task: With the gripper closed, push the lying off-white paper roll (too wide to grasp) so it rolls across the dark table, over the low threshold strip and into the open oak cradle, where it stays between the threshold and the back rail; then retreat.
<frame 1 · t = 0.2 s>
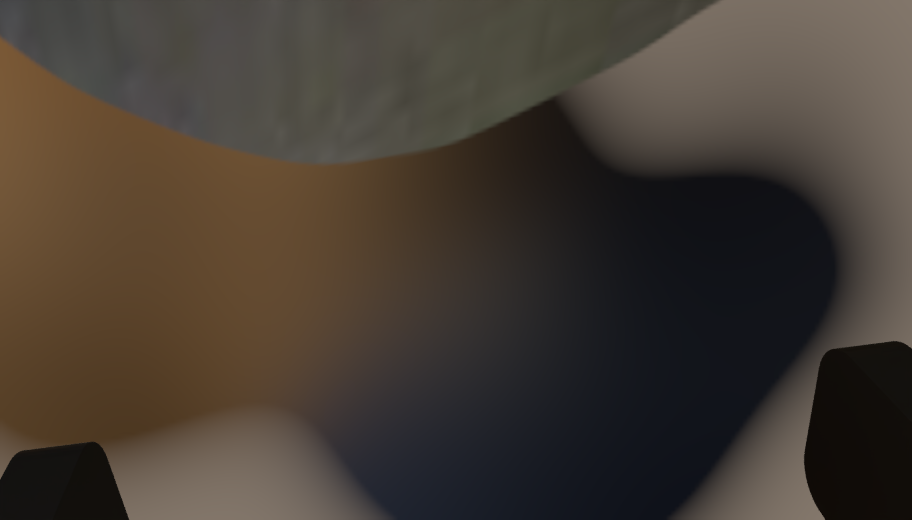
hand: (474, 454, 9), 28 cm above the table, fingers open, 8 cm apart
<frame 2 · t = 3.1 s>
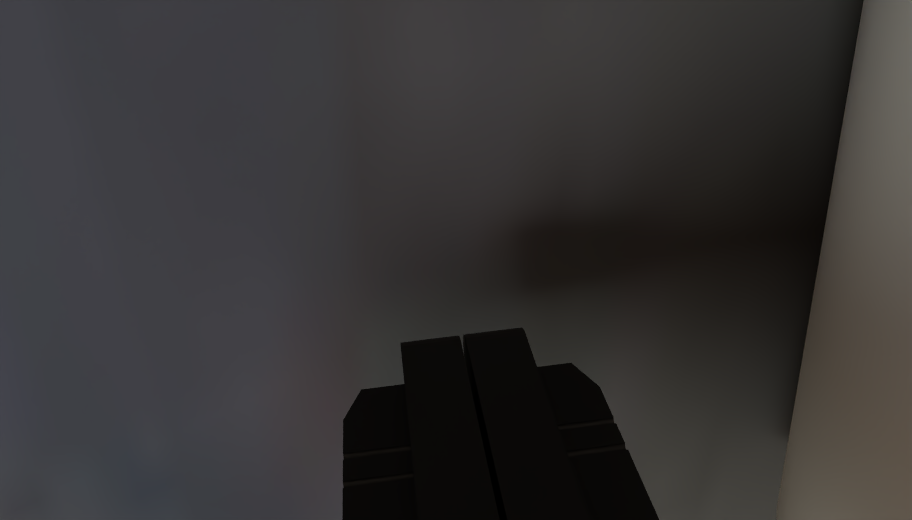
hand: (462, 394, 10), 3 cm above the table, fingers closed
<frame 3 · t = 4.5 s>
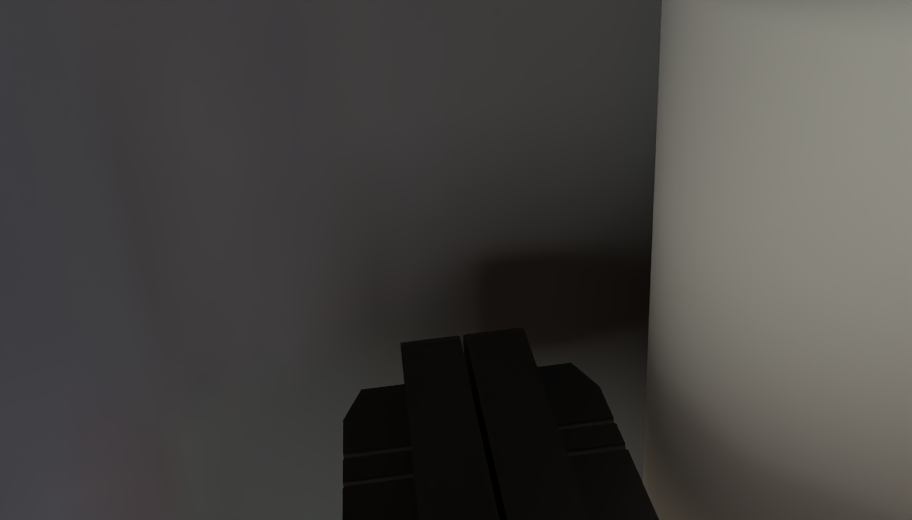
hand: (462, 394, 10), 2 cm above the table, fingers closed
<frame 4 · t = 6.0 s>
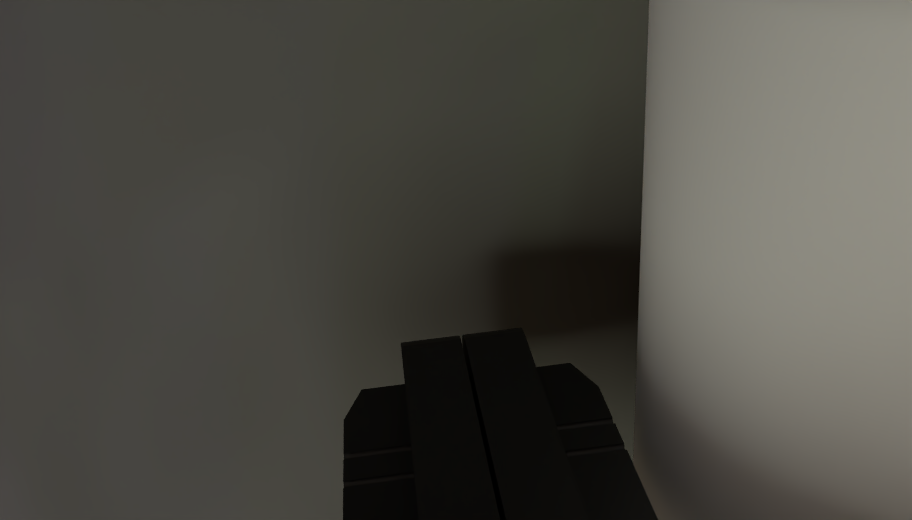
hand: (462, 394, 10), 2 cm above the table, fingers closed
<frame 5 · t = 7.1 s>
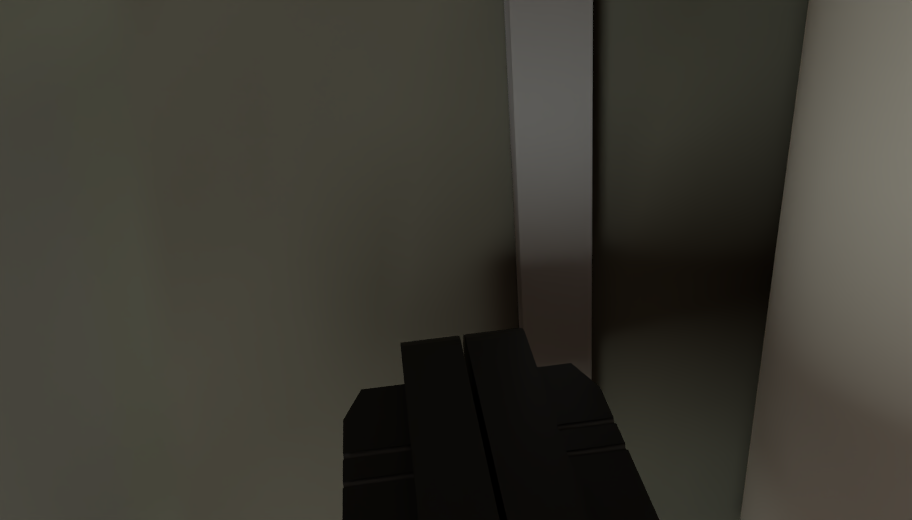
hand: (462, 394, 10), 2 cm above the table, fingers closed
oak cradle: (908, 250, 12), on the table
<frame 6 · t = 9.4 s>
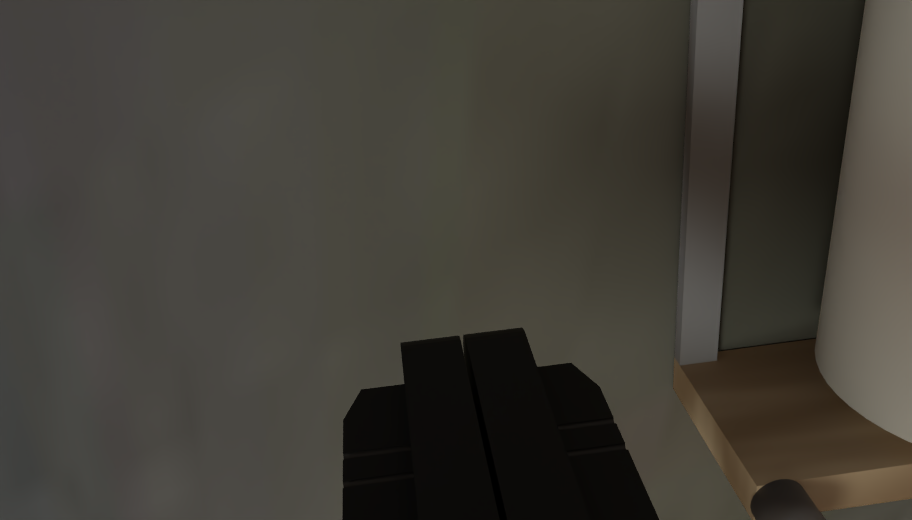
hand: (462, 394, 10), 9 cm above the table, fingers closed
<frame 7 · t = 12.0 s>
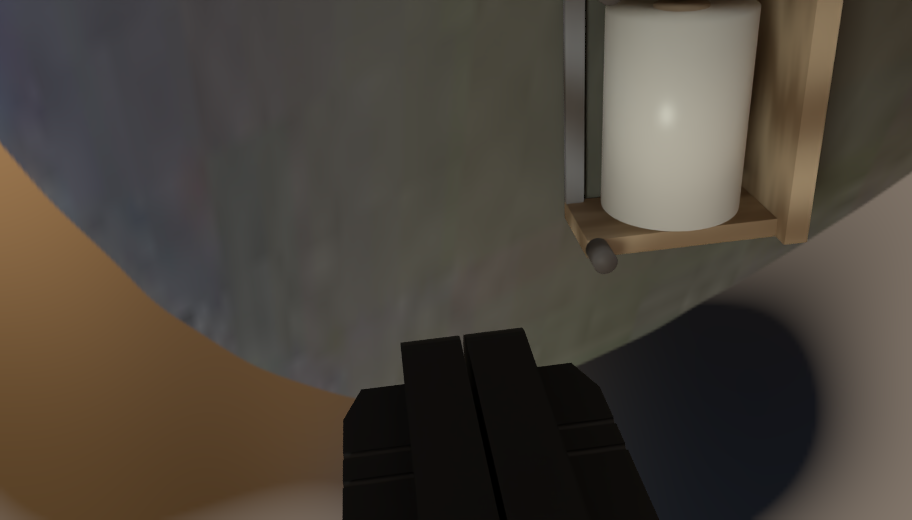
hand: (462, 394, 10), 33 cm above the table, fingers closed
paper roll: (674, 109, 41), point 3 cm above the table, tilted 137°
oak cradle: (674, 85, 44), on the table
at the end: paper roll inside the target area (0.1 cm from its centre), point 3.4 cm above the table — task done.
